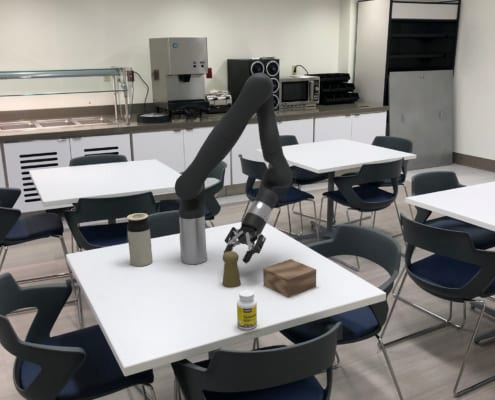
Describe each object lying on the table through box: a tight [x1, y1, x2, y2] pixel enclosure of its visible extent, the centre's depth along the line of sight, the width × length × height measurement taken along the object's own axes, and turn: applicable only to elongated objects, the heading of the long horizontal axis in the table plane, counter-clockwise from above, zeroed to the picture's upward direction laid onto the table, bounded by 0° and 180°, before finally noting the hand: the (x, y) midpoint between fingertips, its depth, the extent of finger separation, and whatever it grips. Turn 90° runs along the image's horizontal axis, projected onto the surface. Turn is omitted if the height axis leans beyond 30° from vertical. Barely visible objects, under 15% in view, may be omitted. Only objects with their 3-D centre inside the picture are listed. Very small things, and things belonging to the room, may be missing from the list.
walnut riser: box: [262, 258, 317, 299], centre depth 165 cm, size 12×12×6 cm
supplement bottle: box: [236, 289, 258, 331], centre depth 140 cm, size 5×5×10 cm
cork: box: [222, 250, 242, 289], centre depth 167 cm, size 6×6×11 cm
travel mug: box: [126, 212, 153, 267], centre depth 186 cm, size 8×8×18 cm
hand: (235, 259), depth 168 cm, fingers open, 8 cm apart
